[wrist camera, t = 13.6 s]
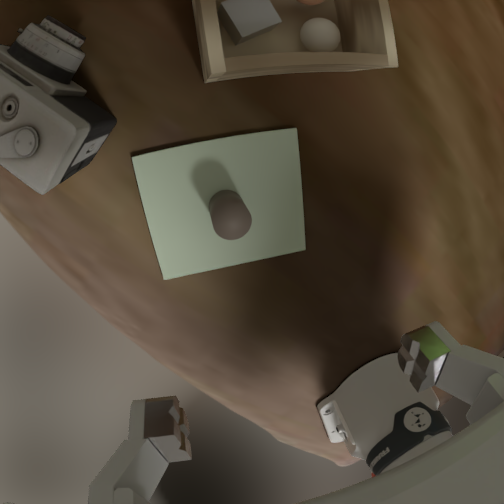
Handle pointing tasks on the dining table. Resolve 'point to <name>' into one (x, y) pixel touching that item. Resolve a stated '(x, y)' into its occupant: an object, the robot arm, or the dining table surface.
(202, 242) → the lid
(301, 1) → the ball terracotta
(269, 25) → the grey block
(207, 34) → the birch box
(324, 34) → the ball cream
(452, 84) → the dining table surface
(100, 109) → the camera
